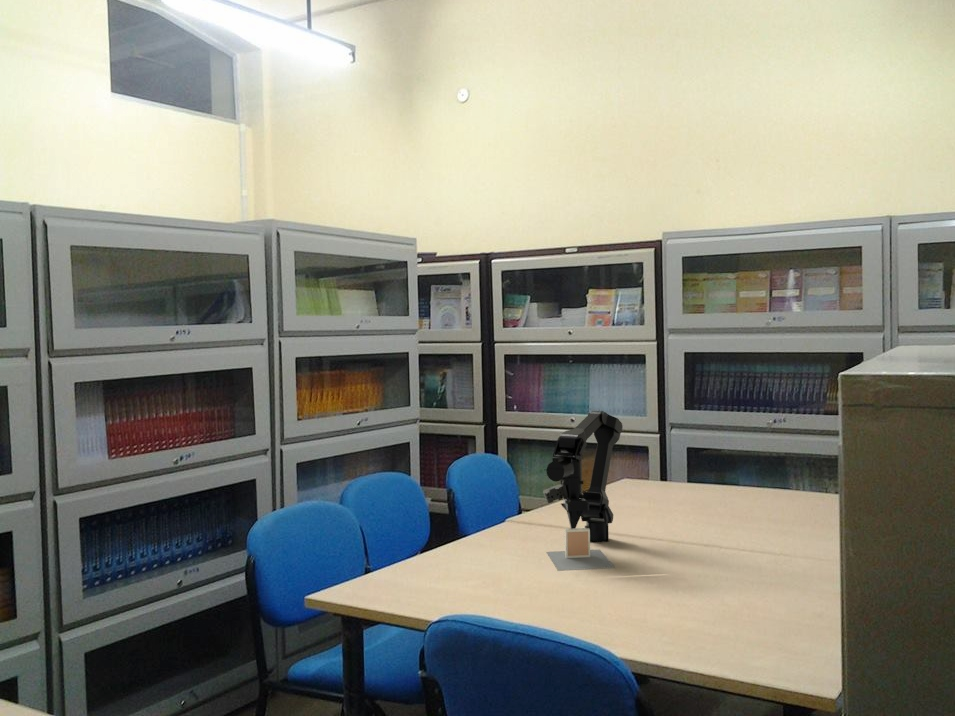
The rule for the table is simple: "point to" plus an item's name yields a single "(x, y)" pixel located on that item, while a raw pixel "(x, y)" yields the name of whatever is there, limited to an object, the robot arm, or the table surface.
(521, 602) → the table surface
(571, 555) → the tile
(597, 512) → the robot arm
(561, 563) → the mat
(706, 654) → the table surface
